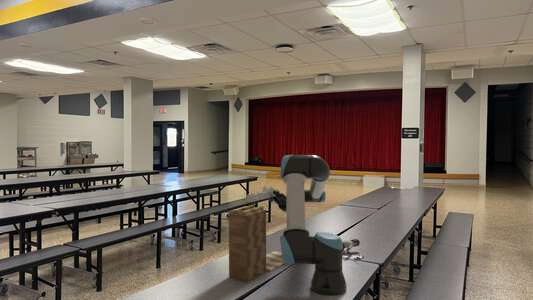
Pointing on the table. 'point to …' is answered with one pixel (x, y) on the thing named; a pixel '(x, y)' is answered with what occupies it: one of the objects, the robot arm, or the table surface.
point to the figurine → (349, 245)
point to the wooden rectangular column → (247, 243)
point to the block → (259, 196)
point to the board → (274, 260)
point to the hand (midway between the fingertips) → (266, 189)
